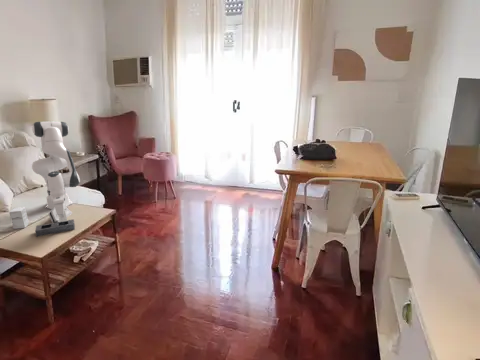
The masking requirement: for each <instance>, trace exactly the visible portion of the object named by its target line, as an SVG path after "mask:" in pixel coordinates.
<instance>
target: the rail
mask: <svg viewBox="0 0 480 360" xmlns="http://www.w3.org/2000/svg"><path fill="white" fill-rule="evenodd" d="M75 227H76V226H75V219H67V221H63V222H58V221H56V222H53V223H52V222H50V223H46V224H41V225H36V226H35V230H34V231H35V232H34V233H35V235H36V237H37V238H38V237H43V236H48V235H52V234H58V233H65V232H69V231H73V230H76V229H75Z"/></svg>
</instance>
